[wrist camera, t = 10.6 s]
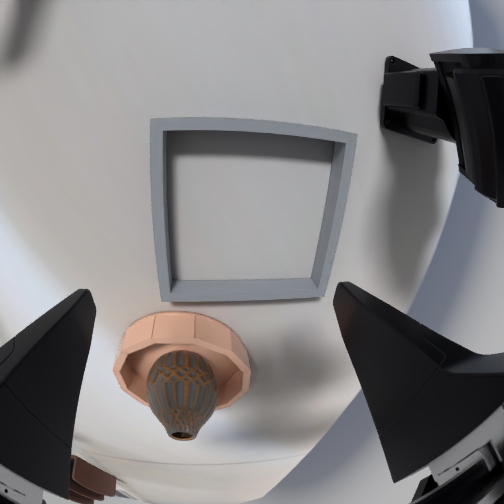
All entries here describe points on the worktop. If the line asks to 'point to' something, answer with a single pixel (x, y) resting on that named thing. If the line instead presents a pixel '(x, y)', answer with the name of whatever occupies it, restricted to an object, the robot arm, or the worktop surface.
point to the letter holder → (89, 482)
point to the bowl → (182, 338)
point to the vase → (182, 393)
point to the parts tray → (261, 287)
